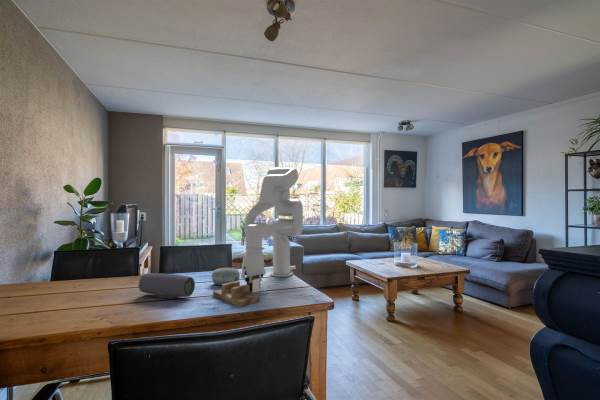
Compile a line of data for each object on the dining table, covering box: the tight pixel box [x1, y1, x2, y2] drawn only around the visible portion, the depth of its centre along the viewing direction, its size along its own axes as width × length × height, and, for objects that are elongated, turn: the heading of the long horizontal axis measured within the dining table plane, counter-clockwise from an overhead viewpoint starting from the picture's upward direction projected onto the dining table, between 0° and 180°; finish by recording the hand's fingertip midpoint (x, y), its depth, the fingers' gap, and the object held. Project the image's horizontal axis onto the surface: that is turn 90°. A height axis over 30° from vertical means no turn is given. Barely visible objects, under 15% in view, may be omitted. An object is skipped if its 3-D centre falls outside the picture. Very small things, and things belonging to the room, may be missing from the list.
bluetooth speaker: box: [138, 272, 196, 300], centre depth 139 cm, size 23×9×10 cm, turn 74°
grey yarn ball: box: [211, 267, 241, 286], centre depth 159 cm, size 14×10×10 cm
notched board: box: [212, 280, 260, 308], centre depth 137 cm, size 10×20×6 cm, turn 45°
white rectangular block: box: [250, 276, 261, 294], centre depth 148 cm, size 4×4×7 cm
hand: (253, 289), depth 148 cm, fingers closed on white rectangular block, 3 cm apart
